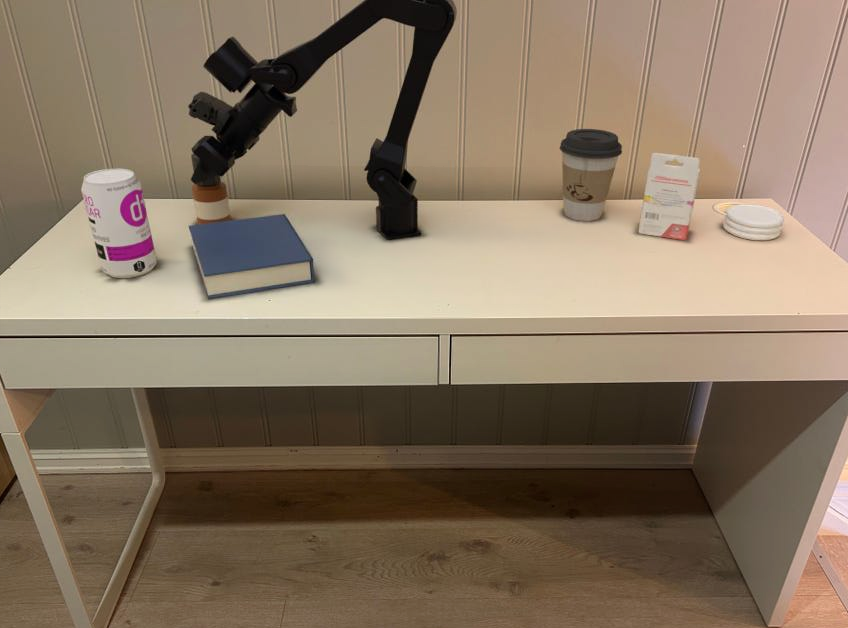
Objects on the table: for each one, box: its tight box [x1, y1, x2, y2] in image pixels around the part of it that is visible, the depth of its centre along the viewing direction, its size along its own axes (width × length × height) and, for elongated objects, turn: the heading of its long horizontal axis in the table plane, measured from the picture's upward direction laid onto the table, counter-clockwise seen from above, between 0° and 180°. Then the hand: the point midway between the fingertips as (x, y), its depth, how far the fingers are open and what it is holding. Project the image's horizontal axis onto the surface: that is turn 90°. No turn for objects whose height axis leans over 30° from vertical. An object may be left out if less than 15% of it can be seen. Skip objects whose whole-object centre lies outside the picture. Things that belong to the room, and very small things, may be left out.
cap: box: [190, 153, 222, 186], centre depth 127 cm, size 4×4×5 cm
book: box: [188, 213, 316, 300], centre depth 117 cm, size 16×20×4 cm
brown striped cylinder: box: [191, 181, 232, 225], centre depth 130 cm, size 6×6×9 cm
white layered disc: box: [722, 203, 785, 241], centre depth 134 cm, size 10×10×4 cm
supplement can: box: [80, 168, 158, 279], centre depth 112 cm, size 8×8×15 cm
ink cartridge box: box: [637, 152, 701, 241], centre depth 129 cm, size 9×5×15 cm, turn 68°
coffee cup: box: [559, 128, 623, 222], centre depth 136 cm, size 11×11×15 cm
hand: (199, 176), depth 128 cm, fingers open, 6 cm apart
